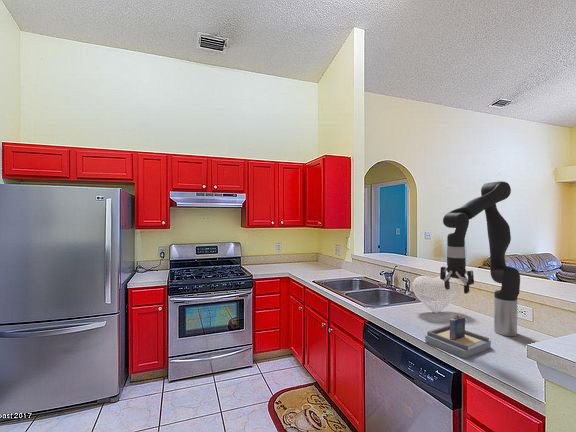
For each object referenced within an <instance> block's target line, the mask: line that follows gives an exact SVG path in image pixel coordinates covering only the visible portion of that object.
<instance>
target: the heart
mask: <svg viewBox="0 0 576 432" xmlns="http://www.w3.org/2000/svg"><path fill="white" fill-rule="evenodd" d="M446 276H447V274H446ZM449 281H450V289H448V290H446V288H445V282H444V280H442V279H440V275H438V276H436V277H432V276H429V275H419V276H418V277H417V276H416V277H415V278H414V279H413V281H412V284H411V285H412V287H411V289H412V291H413V293H414V295H415V297H416V298H417V299H418V300H419V301H420V302H421V303H422V304H423V305H424V306H425V307H426V308H428V310H430V311H431V312H432V313H436V314H438V313H439V312H441V311H443V310H444V309H445V308H446V307H448V305H449V304H450V303H452V302H453V301H454V300H456V299H457V297H458V296H459V295H460V292H461V284H460V282H459V281H458V279H457V278H451V279H450V280H449Z"/></svg>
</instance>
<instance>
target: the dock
mask: <svg viewBox="0 0 576 432" xmlns="http://www.w3.org/2000/svg"><path fill="white" fill-rule="evenodd" d="M424 338H425V340H424V341H425V343H427V344H429V345H432V346H434V347H436V348H439V349H442V350H443V351H446V352H448V353H450V354H454V355H455V356H457V357H460V358H463V359H466V358H469V357H471V356H475V355H476V354H478V353H481V352H483V351H487V350H488V349H490V348H492V342H491V340H490V338H489V337H486V336H484V335H481V334H478V333H475V332H472V331H469V330H466V329H465V337H463V338H460V339H456V340H451V339H450V324H449V325H448V324H447V325H445V326H441V327H438V328H435V329H432V330H428V331H427V332H426V335H425V336H424Z"/></svg>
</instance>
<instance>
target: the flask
mask: <svg viewBox="0 0 576 432" xmlns="http://www.w3.org/2000/svg"><path fill="white" fill-rule="evenodd" d="M453 315H454V317H452V318H450V319H449V325H450V339H451V340H456V339H460V338H463V337H465V330H466V317H465V316H463V315H460V314H458V313H454V314H453Z"/></svg>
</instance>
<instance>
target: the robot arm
mask: <svg viewBox="0 0 576 432" xmlns="http://www.w3.org/2000/svg"><path fill="white" fill-rule="evenodd" d="M511 192H512V189H511V186H510V184H509V183H508V182H506V181H500V180H499V181H494V182H493V181H492V182H487V183H486V182H485V183H483V184H482V186H481V188H480V194H481V195H480V196H477V197H475V198H473V199H471V200H469V201H467V202H466V203H464V204H462V206H460V207H458V208H456V209H453V210H450V211H449V212H447V213H446V214H445V215H444V216H443V217H442V224H443V225H444V226H445V227H446V228H448V229H449V228H451V229H455V230H454V232H451V233H449V234H448V235H447V238H446V241H447V246H446V265H447V266H442V267H440V273H439V276H440V279H441V280H443V282H444V284H445V288H444V289H446V290H449V289H451V288H450V286H451V285H450V284H451V282H450V281H449V280H451V278H455V279H457V280H460V281H461V282H462V284H463V293H464V294H466V295H467V294H469V293H470V286H471V285H474V284H475V279H474V278H475V277H474V271H473V270H466V267H467V265H466V263H467V262H466V261H467V258H466V255H467V254H466V252H467V251H466V246H465V245H466V239H465V238H466V235H467V231H468V228H469V224H470V220H471V219H474V218H475V217H476V216H477V215H479V214H480V213H482V212H483V211H484V213H485V220H486V229H487V238H488V243H489V245H488V246H489V254H490V255H489V256H490V258H489V259H490V261H489V263H490V264H489V265H490V266H489V269H490V276H491V279H492V280H493V282H495V283H497V284H501V287H500V289H498V290H494V295H493V296H494V297H493V300H494V301H493V302H494V303H493V305H494V307H493V308H494V311H493V313H494V316H493V317H494V318H493V322H494V323H493V325H494V327H493V328H494V330H493V332H495V333H496V334H499V335H501V336H506V337H516V336H518V297H519V294H520V288H521V275H520V271H519V270H518V269H517V268H515V267H513V266H509V265H508V266H507V264H506V252H507V250H508V248H509V246H510V244H511V240H512V236H511V235H512V234H511V227H510V225H509V223H508V222H507V220H506V219H505V218H504V217H503V215H502V214H501V213H500V211H499V210H498V208H497V203H500V202H502V201H505V200H506V199H508V198H509V197H510V195H511ZM446 275H447V276H446Z"/></svg>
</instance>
